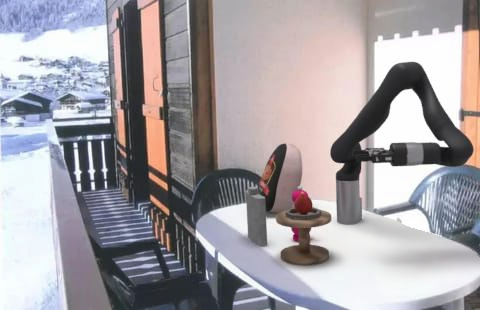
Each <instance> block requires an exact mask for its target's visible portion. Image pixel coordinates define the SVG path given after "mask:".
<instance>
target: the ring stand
mask: <svg viewBox="0 0 480 310" xmlns="http://www.w3.org/2000/svg"><path fill="white" fill-rule="evenodd" d="M331 221H332V214H331V213H330V212H328V211H327V210H323V209H319V208H317V207H313V206H312V209H311V211H310V212H309V213H307V214H306V215H301V214H300V213H299V212H298V211H297V210H296V209H295V208H294V207H292V208H291V209H288V210H287V211H283V212H280V213H276V215H275V222H276V223H277V224H278V225H280V226H283V227H286V228H291V227H292V228H298V231H299V242H298V244H296V245H290V246H287V247H284V248H282V249H281V251H280V259H281V260H282V261H284V262H285V263H286V264H291V265H298V266H311V265H312V264H313V265H318V264H322V263H324V262H326V261H328V260H329V259H330V251H329V250H328V248H326V247H323V246H321V245H317V244H316V245H315V244H311V233H310V232H311V231H310V232H309V228H311V229H312V228H317V227H323V226H326V225H328V224H330V223H331Z"/></svg>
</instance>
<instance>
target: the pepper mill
mask: <svg viewBox="0 0 480 310" xmlns="http://www.w3.org/2000/svg"><path fill="white" fill-rule="evenodd" d="M297 189H298V190H297V191H295V192H294V193H293V194H292V200H293V202H294V204H295V200H296V199H297V197H298V196H300V195H301V192H303V193H304V194H305V195H307V196H308V197H309V194H308V192H307V191H306V190H303V186H301V185H300V186H298V188H297ZM294 204H293V208H295V206H294ZM290 229H291V232H292V233H293V235H292V239H293V241H294V242H297V243H299V231H298V228H292V227H290ZM311 231H312V228H309V232H311Z"/></svg>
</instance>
